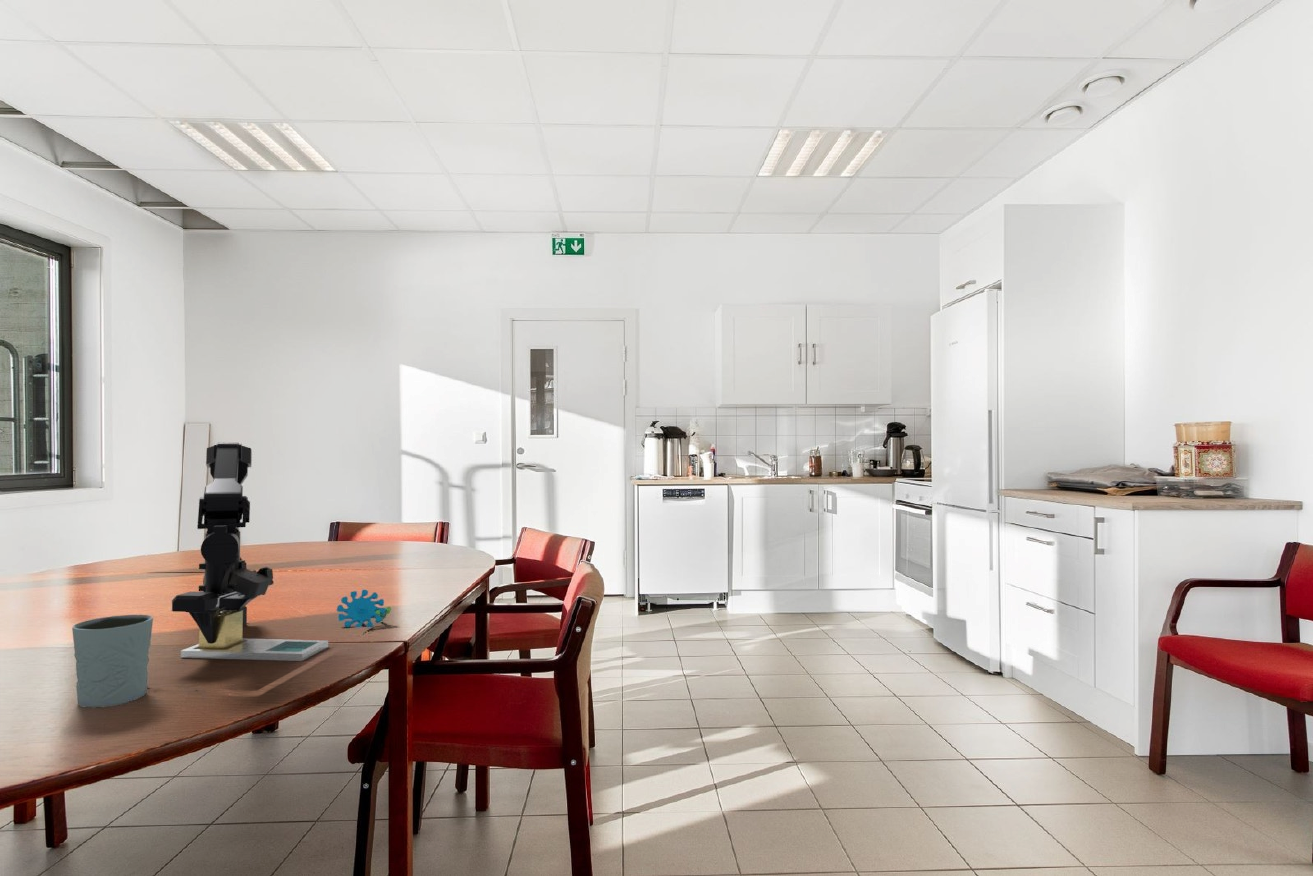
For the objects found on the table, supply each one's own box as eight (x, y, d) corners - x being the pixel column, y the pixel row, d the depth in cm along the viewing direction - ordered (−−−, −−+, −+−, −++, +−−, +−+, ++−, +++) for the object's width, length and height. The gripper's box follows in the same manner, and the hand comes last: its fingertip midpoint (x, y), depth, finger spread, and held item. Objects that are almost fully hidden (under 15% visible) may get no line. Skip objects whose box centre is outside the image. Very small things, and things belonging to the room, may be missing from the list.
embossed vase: (86, 714, 104) (88, 632, 104) (59, 701, 110) (60, 623, 110) (163, 694, 113) (165, 618, 113) (134, 683, 118) (136, 610, 118)
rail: (180, 661, 130) (180, 650, 130) (214, 647, 139) (214, 637, 139) (301, 665, 128) (302, 654, 128) (328, 651, 137) (328, 640, 137)
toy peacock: (332, 625, 150) (341, 586, 157) (331, 640, 154) (340, 601, 161) (387, 629, 154) (394, 590, 161) (385, 643, 157) (391, 604, 165)
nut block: (199, 653, 132) (199, 614, 132) (217, 646, 137) (217, 608, 137) (224, 654, 131) (225, 615, 131) (242, 646, 136) (242, 609, 136)
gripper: (230, 565, 124) (229, 655, 124) (292, 550, 143) (290, 628, 143) (170, 564, 125) (168, 653, 125) (239, 549, 144) (237, 626, 144)
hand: (221, 639), depth 134 cm, fingers closed on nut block, 5 cm apart
